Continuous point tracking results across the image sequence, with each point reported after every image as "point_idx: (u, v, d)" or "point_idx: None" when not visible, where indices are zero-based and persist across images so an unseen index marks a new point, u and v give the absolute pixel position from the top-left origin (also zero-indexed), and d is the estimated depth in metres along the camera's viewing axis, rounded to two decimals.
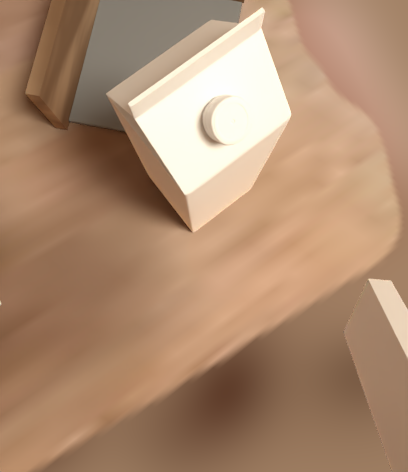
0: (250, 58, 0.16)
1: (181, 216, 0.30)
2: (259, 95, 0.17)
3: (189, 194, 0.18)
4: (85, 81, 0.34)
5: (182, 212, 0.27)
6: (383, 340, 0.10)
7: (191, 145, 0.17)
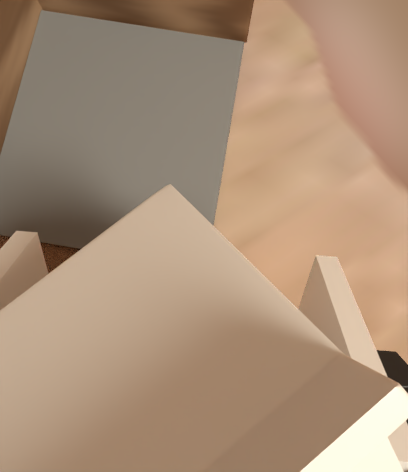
0: None
1: None
2: None
3: None
4: (7, 168, 0.23)
5: None
6: (324, 309, 0.11)
7: None
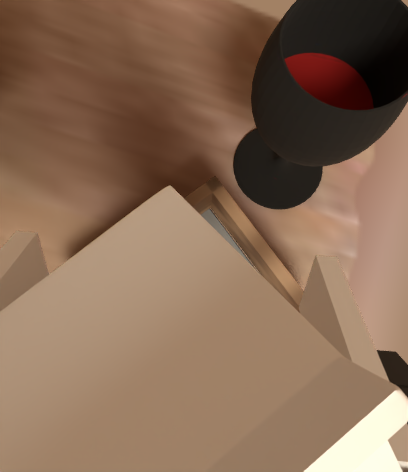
0: None
1: None
2: None
3: None
4: None
5: None
6: (324, 309, 0.11)
7: None
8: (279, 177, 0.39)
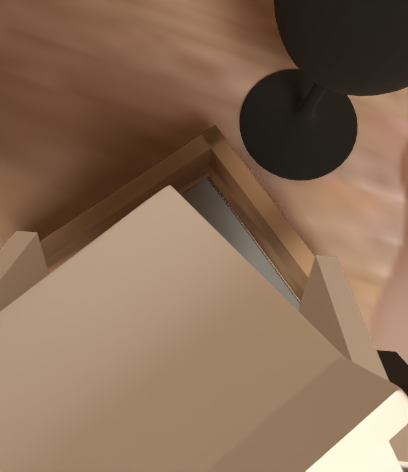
0: None
1: None
2: None
3: None
4: None
5: None
6: (324, 309, 0.11)
7: None
8: (301, 137, 0.29)
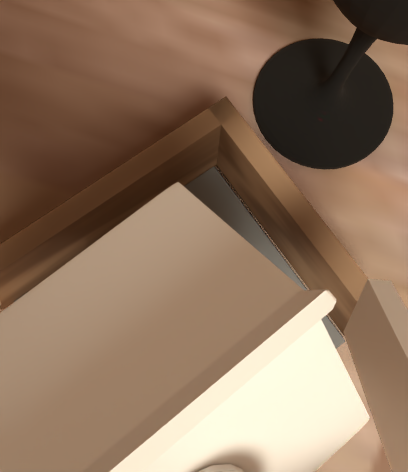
0: (276, 371, 0.05)
1: None
2: (299, 424, 0.06)
3: None
4: None
5: None
6: (383, 340, 0.10)
7: None
8: (326, 117, 0.24)
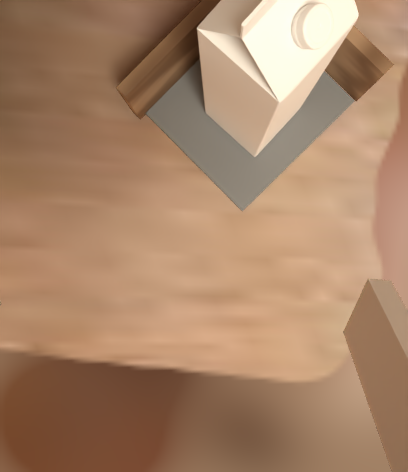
0: None
1: (244, 142, 0.34)
2: (333, 0, 0.20)
3: (281, 102, 0.21)
4: (179, 88, 0.36)
5: (252, 134, 0.30)
6: (383, 341, 0.10)
7: (283, 56, 0.20)
8: None
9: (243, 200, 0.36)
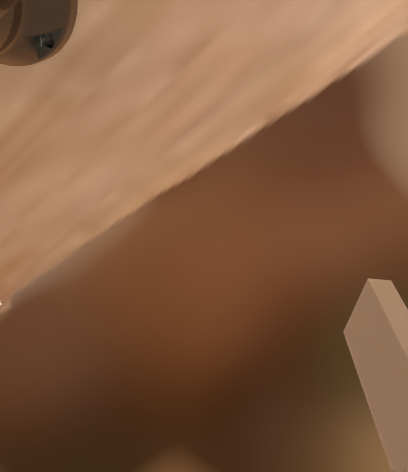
0: None
1: None
2: None
3: None
4: None
5: None
6: (383, 340, 0.10)
7: None
8: None
9: None
